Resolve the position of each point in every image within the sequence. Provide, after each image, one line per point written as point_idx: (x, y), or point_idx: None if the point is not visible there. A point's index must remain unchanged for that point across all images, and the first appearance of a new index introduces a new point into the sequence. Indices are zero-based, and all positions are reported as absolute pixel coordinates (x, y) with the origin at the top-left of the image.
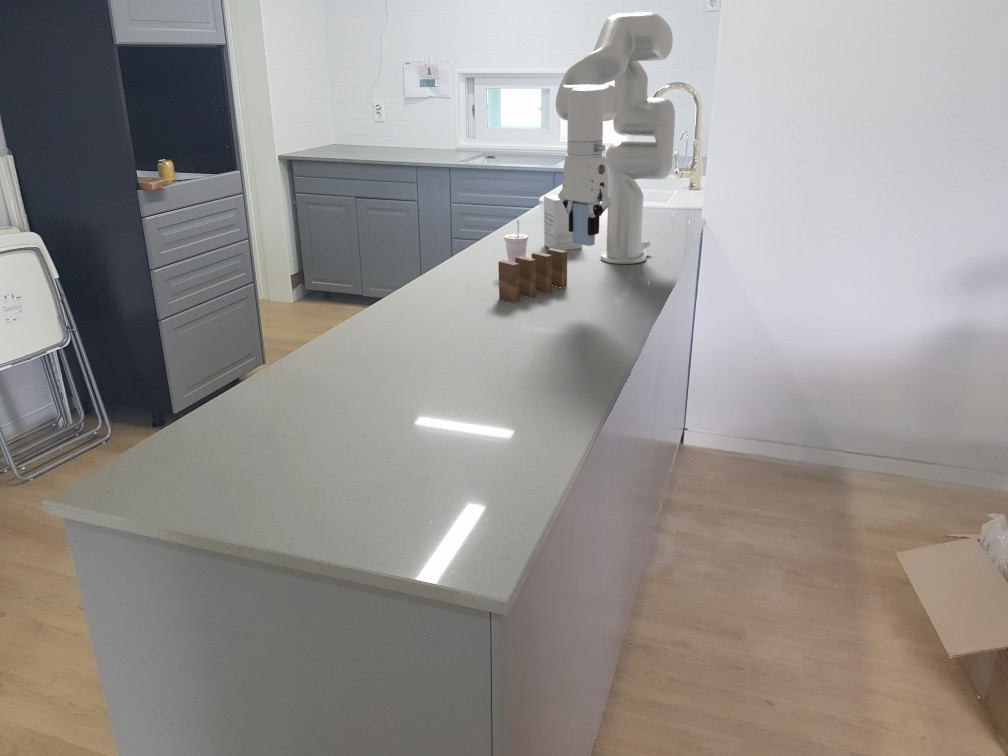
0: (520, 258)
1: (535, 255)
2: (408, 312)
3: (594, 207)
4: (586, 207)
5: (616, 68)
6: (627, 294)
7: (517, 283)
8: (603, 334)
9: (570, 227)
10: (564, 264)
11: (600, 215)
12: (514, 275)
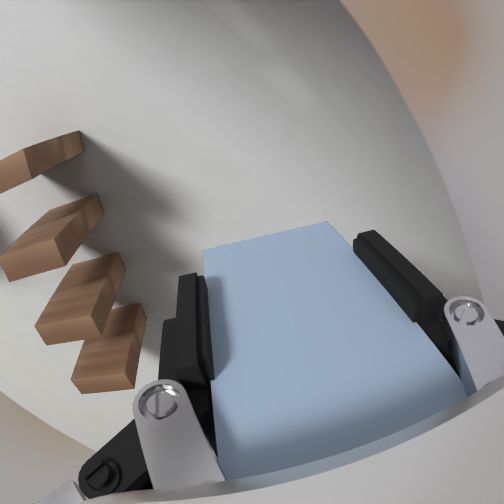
0: (64, 342)
1: (24, 275)
2: None
3: (456, 386)
4: None
5: None
6: (255, 22)
7: (134, 337)
8: (423, 272)
9: None
10: (50, 154)
11: (467, 309)
12: (136, 362)
